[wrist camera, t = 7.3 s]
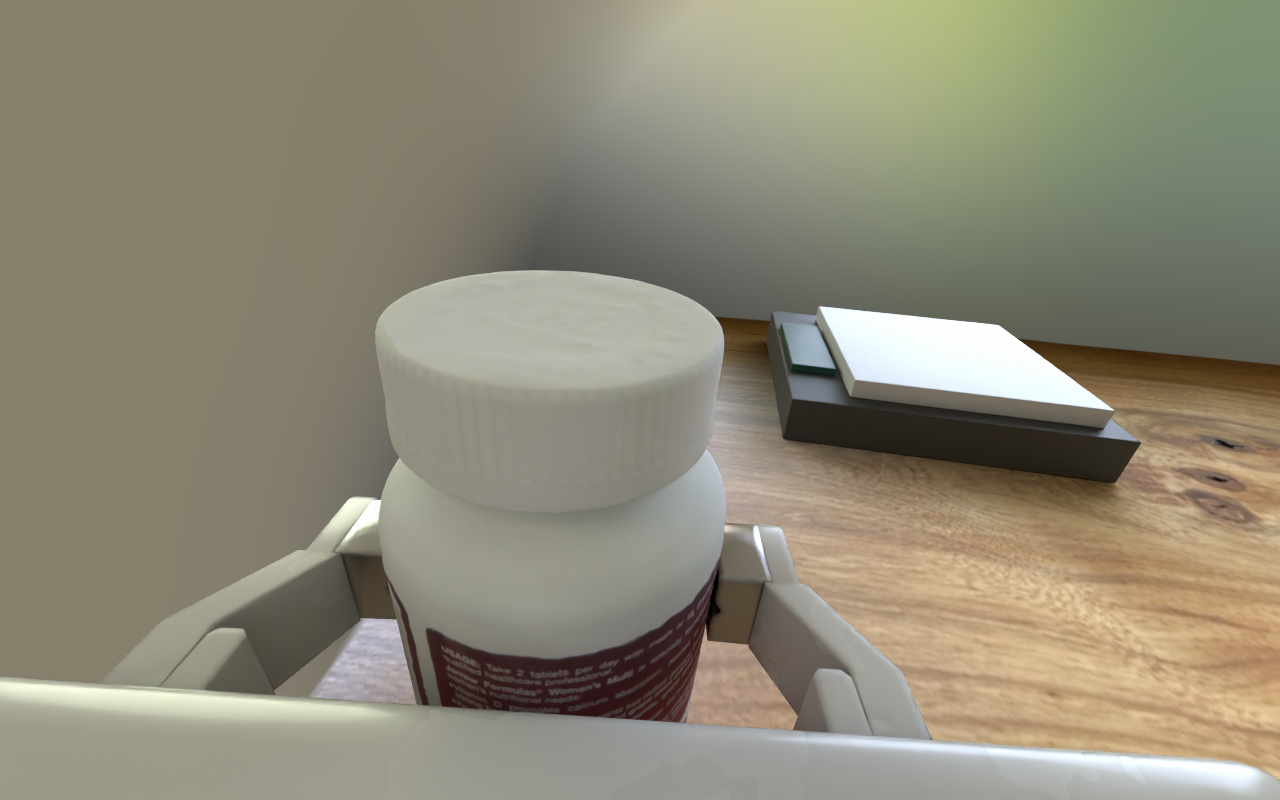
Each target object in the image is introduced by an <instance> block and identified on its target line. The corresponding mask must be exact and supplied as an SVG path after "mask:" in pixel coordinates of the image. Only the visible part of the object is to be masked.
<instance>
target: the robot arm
mask: <svg viewBox="0 0 1280 800" xmlns="http://www.w3.org/2000/svg"><path fill="white" fill-rule="evenodd" d="M380 502H381V498H370V497H359V496H355V497H353V498H350V499H349V500H348V501H347V502H346V503H345V504H344V505H343V506H342V508H341V509H340V510H339V511H338V513H337V514H336V515H335V516H334V517H333V518H332V520H331V521H330V522H329V523H328V525H327V526H326V527H325V528H324V529H323V530H322V532H321V533H320V534H319V535H318V536H317V538H316V539H315V540H314V541H313V543H312V544H311V545H310V546H309V547H308V549H307V550H298V551H296V552H294V553H292V554H290V555H288V556H286V557H284V558H282V559H280V560H278V561H276V562H275V563H273V564H271V565H269V566H267V567H265V568H263V569H261V570H259V571H257V572H255V573H253V574H251V575H249V576H248V577H246V578H244V579H242V580H240V581H238V582H236V583H234V584H232V585H230V586H228V587H226V588H224V589H222V590H220V591H218V592H217V593H215V594H213V595H211V596H209V597H207V598H205V599H203V600H201V601H199V602H197V603H196V604H193V605H191V606H190V607H188V608H186V609H184V610H182V611H180V612H178V613H176V614H174V615H172V616H170V617H168V618H167V619H165V620H163V621H161V622H160V623H159V624H158V625H157V626H156V627H155V628H154V629H153V630H152V631H151V632H150V633H149V634H148V635H147V636H146V637H145V638H144V639H143V640H142V641H141V642H140V643H139V644H138V645H137V646H136V647H135V648H134V649H133V650H132V651H131V652H130V653H129V654H128V655H127V656H126V657H125V658H124V659H123V660H122V661H121V662H120V663H119V664H118V665H117V666H116V667H115V668H114V669H113V670H112V671H111V672H110V673H109V674H108V675H107V676H106V677H105V678H104V679H103V680H102V681H101V682H100V683H90V682H76V681H60V680H45V679H31V678H16V677H1V676H0V800H1280V780H1279V779H1277V778H1275V777H1274V776H1272V775H1270V774H1269V773H1267V772H1265V771H1263V770H1261V769H1259V768H1256V767H1254V766H1251V765H1248V764H1244V763H1240V762H1237V761H1229V760H1221V759H1212V758H1199V757H1183V756H1167V755H1151V754H1136V753H1121V752H1106V751H1091V750H1076V749H1061V748H1045V747H1031V746H1016V745H1002V744H987V743H972V742H958V741H943V740H932V738H931V736H930V733H929V731H928V729H927V727H926V724H925V722H924V720H923V718H922V715H921V713H920V711H919V709H918V707H917V704H916V702H915V700H914V698H913V695H912V693H911V691H910V689H909V686H908V684H907V682H906V680H905V677H904V675H903V673H902V672H901V671H900V670H899V669H898V668H897V667H896V666H895V665H894V664H892V663H891V662H890V661H889V660H888V659H887V658H886V657H885V656H884V655H883V654H882V653H880V652H879V651H878V650H877V649H876V648H875V647H874V646H873V645H872V644H871V643H869V642H868V641H867V640H866V639H865V638H864V637H863V636H862V635H861V634H860V633H859V632H857V631H856V630H855V629H854V628H853V627H852V626H851V625H850V624H849V623H848V622H846V621H845V620H844V619H843V618H842V617H841V616H840V615H839V614H838V613H837V612H836V611H834V610H833V609H832V608H831V607H830V606H829V605H828V604H827V603H826V602H825V601H824V600H822V599H821V598H820V597H819V596H818V595H817V594H816V593H815V592H814V591H813V590H811V589H810V588H809V587H808V586H807V585H800V584H799V581H798V578H797V575H796V571H795V568H794V565H793V562H792V559H791V556H790V552H789V549H788V546H787V543H786V540H785V537H784V533H783V530H782V528H781V527H780V526H779V525H760V524H756V525H753V524H737V523H725V529H724V543H723V548H722V552H721V558H720V560H719V563H718V567H717V572H716V576H715V581H714V587H713V590H712V594H711V599H710V605H709V610H708V615H707V619H706V630H707V640H708V641H717V642H727V643H737V644H748V645H749V646H748V647H749V648H750V650H751V651H752V652H753V654H754V655H755V657H756V658H757V659H758V661H759V662H760V664H761V665H762V666H763V668H764V669H765V671H766V672H767V673H768V675H769V676H770V678H771V679H772V680H773V682H774V683H775V684H776V686H777V687H778V689H779V690H780V691H781V693H782V694H783V696H784V697H785V698H786V700H787V701H788V703H789V704H790V705H791V707H792V708H793V710H794V711H795V712H796V714H797V715H798V718H797V721H796V723H795V726H794V729H793V730H782V729H767V728H753V727H738V726H724V725H709V724H694V723H679V722H664V721H649V720H634V719H619V718H604V717H589V716H574V715H559V714H544V713H530V712H515V711H501V710H486V709H472V708H457V707H443V706H428V705H414V704H399V703H384V702H370V701H355V700H340V699H326V698H311V697H295V696H281V695H275V693H274V690H275V689H276V688H278V687H279V686H280V685H281V684H283V683H284V682H285V681H286V680H288V679H289V678H290V677H291V676H293V675H294V674H295V673H296V672H297V671H299V670H300V669H301V668H302V667H304V666H305V665H306V664H307V663H309V662H310V661H311V660H312V659H313V658H315V657H316V656H317V655H318V654H320V653H321V652H322V651H323V650H325V649H326V648H327V647H328V646H329V645H331V644H332V643H333V642H334V641H335V640H337V639H338V638H339V637H340V636H342V635H343V634H344V633H345V632H346V631H348V630H349V629H350V628H351V627H353V626H354V625H355V624H357V623H358V622H359V621H360V618H373V619H397V618H396V614H395V611H394V606H393V602H392V597H391V593H390V589H389V584H388V580H387V576H386V574H385V571H384V567H383V561H382V552H381V544H380V538H379V528H378V515H379V508H380Z"/></svg>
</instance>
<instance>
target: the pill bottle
mask: <svg viewBox="0 0 1280 800" xmlns="http://www.w3.org/2000/svg"><path fill="white" fill-rule="evenodd" d="M375 342H376V349H377V357H378V362H379V368H380V374H381V379H382V385H383V390H384V395H385V401H386V416H387V423H388V429H389V433H390V438H391V441H392V444H393V447H394V450H395V451H396V453H397V454H398V456H399V457H400V458H399V459H398V461H397V463H396V464H395V466H394V467H393V469H392V471H391V473H390V475H389V477H388V479H387V482H386V485H385V487H384V490H383V493H382V497H381V502H380V508H379V515H378V528H379V538H380V544H381V552H382V561H383V567H384V571H385V574H386V576H387V580H388V584H389V589H390V593H391V597H392V602H393V606H394V611H395V614H396V618H397V622H398V626H399V631H400V635H401V639H402V643H403V648H404V652H405V656H406V660H407V665H408V669H409V673H410V677H411V681H412V685H413V690H414V694H415V698H416V702H417V705H428V706H443V707H457V708H472V709H486V710H501V711H515V712H530V713H544V714H559V715H574V716H589V717H604V718H619V719H634V720H649V721H664V722H679V723H686V719H687V714H688V709H689V704H690V700H691V694H692V689H693V683H694V677H695V673H696V669H697V664H698V659H699V655H700V648H701V644H702V639H703V635H704V629H705V624H706V619H707V615H708V610H709V605H710V599H711V594H712V590H713V587H714V581H715V576H716V572H717V567H718V563H719V560H720V558H721V552H722V548H723V543H724V529H725V523H726V497H725V490H724V485H723V481H722V478H721V475H720V472H719V470H718V468H717V466H716V463H715V461H714V459H713V457H712V455H711V454H710V452H709V451H708V449H707V446H708V444H709V442H710V439H711V435H712V430H713V425H714V419H715V408H716V397H717V391H718V385H719V379H720V372H721V366H722V360H723V354H724V335H723V332H722V328H721V326H720V324H719V322H718V321H717V320H716V318H715V317H714V316H713V315H712V314H711V313H710V312H709V311H708V310H707V309H705V308H704V307H703V306H701V305H700V304H698V303H697V302H695V301H693V300H691V299H689V298H687V297H685V296H683V295H680V294H678V293H676V292H674V291H671V290H668V289H665V288H662V287H658V286H655V285H651V284H648V283H645V282H641V281H637V280H631V279H626V278H621V277H614V276H606V275H601V274H593V273H583V272H571V271H508V272H495V273H487V274H479V275H471V276H465V277H459V278H455V279H450V280H445V281H441V282H438V283H435V284H432V285H429V286H426V287H423V288H420V289H418V290H415V291H413V292H411V293H408V294H407V295H405V296H403V297H401V298H400V299H398V300H397V301H395V302H394V303H392V304H391V305H390V306H389V307H388V308H387V309H386V310H385V311H384V312H383V313H382V315H381V316H380V318H379V320H378V322H377V327H376V332H375Z"/></svg>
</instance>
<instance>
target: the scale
mask: <svg viewBox="0 0 1280 800" xmlns="http://www.w3.org/2000/svg"><path fill="white" fill-rule="evenodd" d="M766 342H767V347H768V353H769V359H770V365H771V371H772V377H773V382H774V388H775V394H776V400H777V406H778V411H779V417H780V423H781V429H782V435H783V438H784V439H790V440H797V441H805V442H812V443H820V444H827V445H835V446H842V447H850V448H857V449H865V450H872V451H880V452H887V453H895V454H902V455H910V456H917V457H925V458H932V459H940V460H947V461H955V462H962V463H970V464H977V465H985V466H992V467H1000V468H1007V469H1015V470H1022V471H1029V472H1037V473H1044V474H1052V475H1059V476H1067V477H1074V478H1082V479H1089V480H1097V481H1104V482H1112V483H1115V482H1116V481H1117V479H1118V478H1119V476H1120V475H1121V473H1122V472H1123V470H1124V469H1125V467H1126V466H1127V464H1128V462H1129V461H1130V459H1131V458H1132V456H1133V455H1134V453H1135V452H1136V450H1137V448H1138V447H1139V445H1140V444H1141V442H1140V441H1138V440H1137V439H1136V438H1134V437H1133V436H1132V435H1130V434H1129V433H1128V432H1127V431H1125V430H1124V429H1123V428H1121V427H1120V426H1119V425H1117V424H1116V423H1115V422H1113V421H1112V420H1111V417H1112V415H1113V413H1114V412H1115V411H1114V410H1113V409H1112V408H1110V407H1109V406H1108V405H1106V404H1105V403H1104V402H1102V401H1101V400H1099V399H1098V398H1097V397H1095V396H1094V395H1093V394H1091V393H1090V392H1089V391H1087V390H1086V389H1084V388H1083V387H1082V386H1080V385H1079V384H1078V383H1076V382H1075V381H1074V380H1072V379H1071V378H1070V377H1068V376H1067V375H1065V374H1064V373H1063V372H1061V371H1060V370H1059V369H1057V368H1056V367H1055V366H1053V365H1052V364H1050V363H1049V362H1048V361H1046V360H1045V359H1044V358H1042V357H1041V356H1040V355H1038V354H1037V353H1035V352H1034V351H1033V350H1031V349H1030V348H1029V347H1027V346H1026V345H1025V344H1023V343H1022V342H1020V341H1019V340H1018V339H1016V338H1015V337H1014V336H1012V335H1011V334H1010V333H1008V332H1007V331H1005V330H1004V329H1003V328H1001V327H1000V326H999V325H989V324H981V323H971V322H962V321H952V320H943V319H933V318H924V317H914V316H904V315H895V314H886V313H877V312H867V311H858V310H848V309H839V308H829V307H820V306H819V307H818V311H817V316H813V315H804V314H795V313H785V312H777V311H772V314H771V319H770V324H769V329H768V334H767V339H766Z"/></svg>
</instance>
